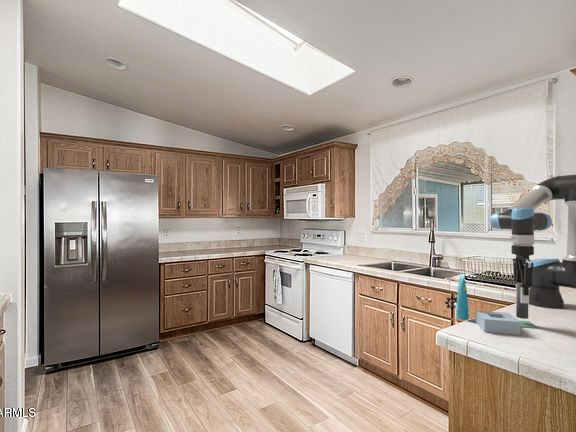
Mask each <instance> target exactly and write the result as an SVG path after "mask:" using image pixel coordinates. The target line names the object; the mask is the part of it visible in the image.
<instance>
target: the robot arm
mask: <svg viewBox="0 0 576 432" xmlns="http://www.w3.org/2000/svg"><path fill="white" fill-rule="evenodd" d="M555 200H556V201H557V200H564V204H566V205H567V207H568V210H567V211H568V212H567V239H566V241H567V242H566V256H564V257H563V258H562V262H561V260H560V259H559V258H535V259H532V260H531V259H530V256H533V255H535V246H534V245H535V234H534V233H535V231H540V232H541V231H545V230H548V229H549V228H550V227H551V226H552V224H553V219H552V217H551V215H549V214H548V213H544V212H535V211H536V209H538V208H539V207H541V205H543V204H546V203H549V202H550V201H555ZM489 219H490V220H489V223H490V226H491V227H492V228H493V229H496V230H511V236H510V239H511V244H512V245H511V254H512V255H515V258H512V264H513V265H512V269H513V272H512V273H513V274H512V275H513V282H514V283H515V286H516V285H517V282H521V283H522V286H520V287H521V303H528V305H533V306H536V307H542V308H548V309H562V308H565V301H564V299H563V297H562V294H561V291H560V287H562V288H563V287H564V288H567V289H568V288H570V289H575V290H576V173H575V174H569V175H568V174H567V175H557V176H553V177H550V178H548V179H545V180H543V181H541V182H539V183H537V184H536V185H534V186H533V187H532V188H531V189H530V192H529V193H527V194H526V195H524V196H523V197H521V199H519V200H518V201H517V202H515V203H513V204H512V205H511V206H510V207H508V208H506V210H504V211H503V212H495V213H492V215H490V218H489Z"/></svg>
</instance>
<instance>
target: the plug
mask: <svg viewBox="0 0 576 432" xmlns="http://www.w3.org/2000/svg"><path fill="white" fill-rule="evenodd" d="M520 286H522V283H521V282H517V285H516V284H515V302H516V307H515V308H516V309H515V310H516V312H515V315H516V317H515V318H518V319H527V320H528V319H529V304H528V303H521V287H520Z"/></svg>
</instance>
